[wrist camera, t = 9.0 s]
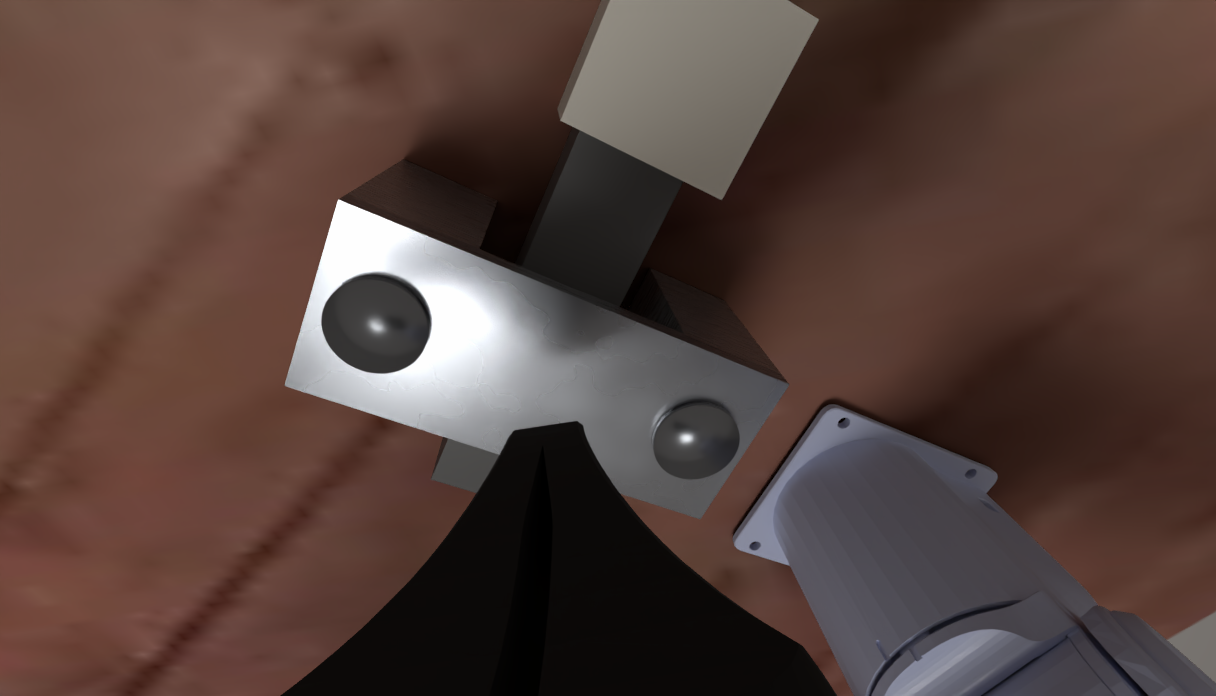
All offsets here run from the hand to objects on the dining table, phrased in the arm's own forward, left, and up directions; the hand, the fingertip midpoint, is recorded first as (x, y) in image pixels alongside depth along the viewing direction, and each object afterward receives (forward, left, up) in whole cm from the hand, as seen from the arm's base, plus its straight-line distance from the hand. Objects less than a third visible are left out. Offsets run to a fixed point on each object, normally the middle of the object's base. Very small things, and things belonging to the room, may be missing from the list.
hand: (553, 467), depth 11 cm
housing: (0, 0, -10) cm, 10 cm away
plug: (0, -2, -11) cm, 11 cm away
